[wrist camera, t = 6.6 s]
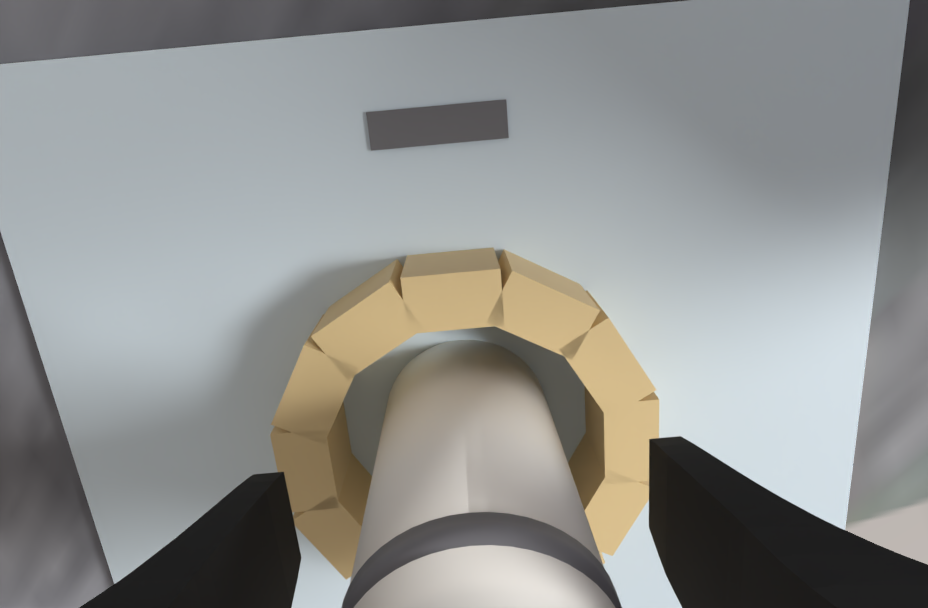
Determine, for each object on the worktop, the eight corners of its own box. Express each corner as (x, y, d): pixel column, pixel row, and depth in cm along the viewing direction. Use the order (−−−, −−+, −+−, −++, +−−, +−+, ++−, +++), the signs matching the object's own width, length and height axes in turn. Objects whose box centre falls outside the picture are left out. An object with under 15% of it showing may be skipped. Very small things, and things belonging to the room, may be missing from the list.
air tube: (544, 330, 15) (650, 567, 7) (551, 476, 16) (647, 814, 8) (374, 345, 15) (295, 599, 7) (395, 491, 16) (347, 842, 8)
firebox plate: (892, -15, 13) (996, -45, 11) (817, 639, 18) (874, 721, 16) (-31, 70, 13) (-143, 60, 11) (165, 696, 19) (121, 787, 16)
